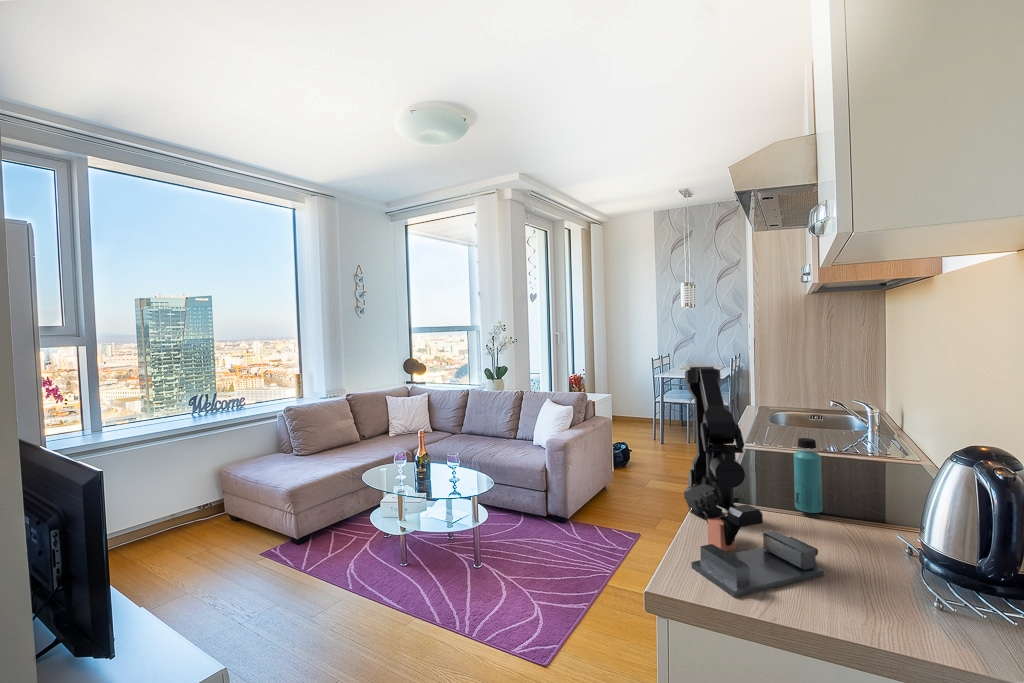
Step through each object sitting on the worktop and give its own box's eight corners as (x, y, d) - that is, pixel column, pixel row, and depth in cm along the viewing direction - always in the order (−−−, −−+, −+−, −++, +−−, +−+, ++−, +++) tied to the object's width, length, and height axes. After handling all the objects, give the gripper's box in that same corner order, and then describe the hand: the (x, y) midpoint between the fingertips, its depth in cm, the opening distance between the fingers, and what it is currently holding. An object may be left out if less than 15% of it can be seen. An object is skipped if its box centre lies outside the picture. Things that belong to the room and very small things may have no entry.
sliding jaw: (785, 543, 106) (785, 528, 106) (827, 564, 97) (827, 547, 97) (762, 548, 104) (761, 532, 104) (802, 570, 95) (802, 552, 95)
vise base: (774, 550, 107) (773, 529, 106) (824, 576, 95) (823, 552, 95) (691, 567, 100) (691, 545, 100) (734, 597, 88) (734, 572, 88)
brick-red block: (722, 541, 111) (721, 516, 111) (735, 549, 108) (734, 522, 107) (708, 544, 110) (707, 518, 110) (720, 552, 106) (720, 525, 106)
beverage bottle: (829, 517, 123) (828, 440, 123) (807, 520, 122) (806, 442, 122) (808, 508, 130) (807, 435, 129) (787, 511, 128) (786, 437, 128)
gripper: (664, 466, 115) (666, 530, 115) (720, 490, 97) (722, 566, 98) (703, 461, 118) (704, 523, 119) (764, 483, 101) (765, 557, 101)
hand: (721, 541), depth 109 cm, fingers closed on brick-red block, 4 cm apart
